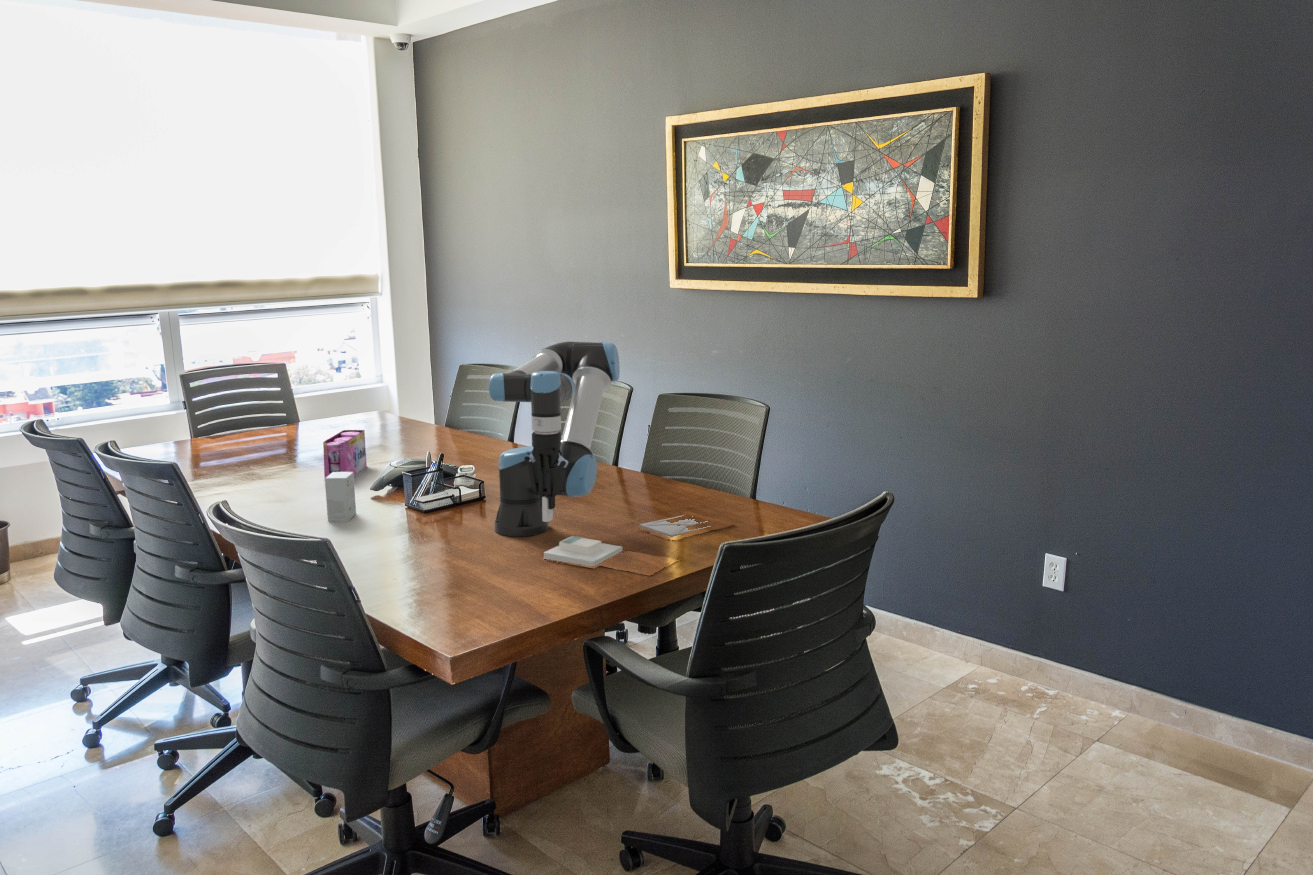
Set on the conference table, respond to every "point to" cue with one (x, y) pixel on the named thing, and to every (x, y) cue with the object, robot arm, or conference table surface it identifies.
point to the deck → (583, 555)
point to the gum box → (345, 452)
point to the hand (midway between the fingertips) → (547, 520)
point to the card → (580, 545)
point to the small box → (340, 496)
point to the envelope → (671, 526)
